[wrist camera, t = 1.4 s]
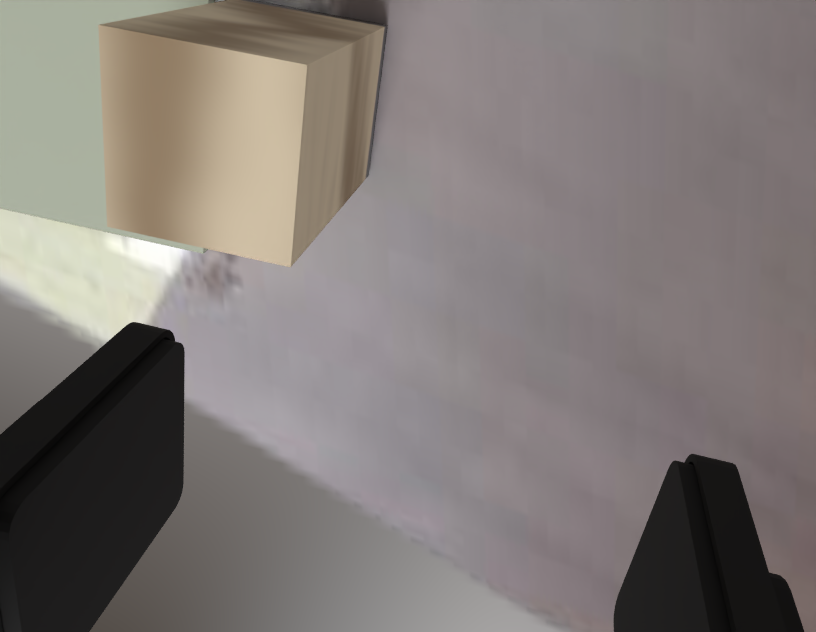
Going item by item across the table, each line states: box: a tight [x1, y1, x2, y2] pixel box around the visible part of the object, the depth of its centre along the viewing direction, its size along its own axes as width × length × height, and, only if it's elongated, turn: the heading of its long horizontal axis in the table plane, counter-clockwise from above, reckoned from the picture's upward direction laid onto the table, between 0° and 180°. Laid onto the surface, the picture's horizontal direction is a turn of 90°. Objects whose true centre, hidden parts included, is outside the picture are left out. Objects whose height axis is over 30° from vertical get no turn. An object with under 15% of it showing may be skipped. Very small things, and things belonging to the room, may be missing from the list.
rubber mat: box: [0, 0, 214, 254], centre depth 31 cm, size 12×16×1 cm
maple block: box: [98, 0, 388, 267], centre depth 26 cm, size 6×6×10 cm
